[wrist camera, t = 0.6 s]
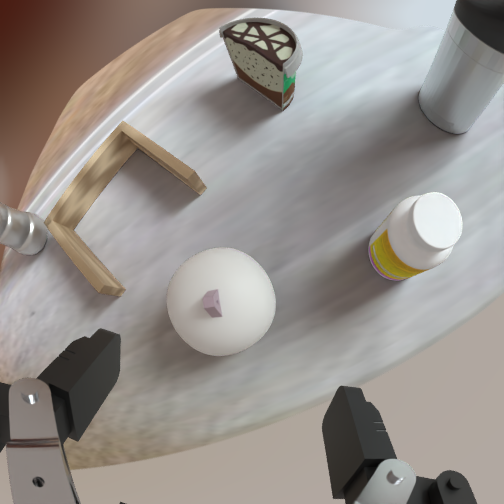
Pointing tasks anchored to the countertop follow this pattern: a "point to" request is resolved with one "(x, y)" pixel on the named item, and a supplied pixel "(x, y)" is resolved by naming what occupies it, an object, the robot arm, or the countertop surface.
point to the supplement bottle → (415, 236)
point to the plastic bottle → (22, 230)
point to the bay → (90, 188)
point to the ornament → (221, 301)
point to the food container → (264, 57)
